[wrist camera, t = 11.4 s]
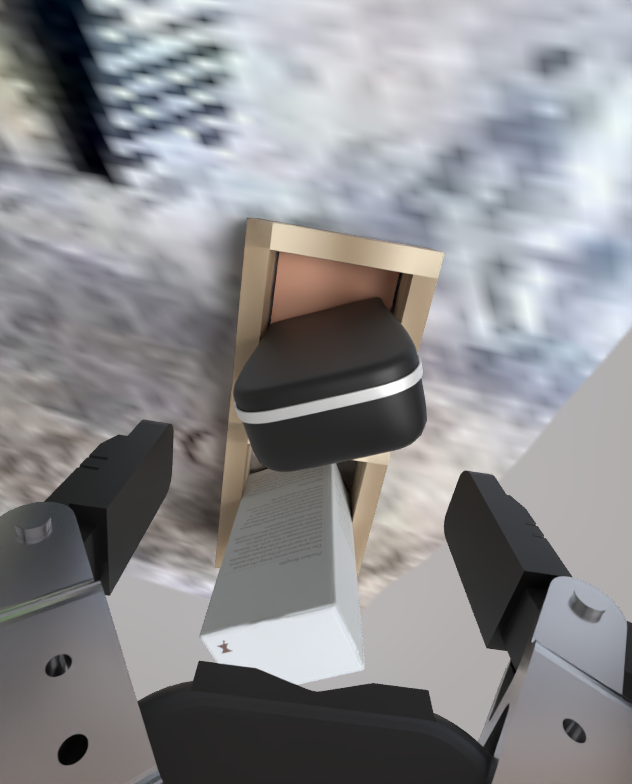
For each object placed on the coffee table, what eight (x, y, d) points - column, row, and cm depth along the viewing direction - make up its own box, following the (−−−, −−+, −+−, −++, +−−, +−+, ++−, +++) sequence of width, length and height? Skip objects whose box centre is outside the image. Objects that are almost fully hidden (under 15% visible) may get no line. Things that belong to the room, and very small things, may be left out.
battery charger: (283, 383, 25) (250, 499, 15) (264, 323, 24) (214, 404, 14) (396, 356, 25) (448, 459, 14) (384, 293, 23) (431, 354, 13)
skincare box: (271, 521, 30) (236, 701, 18) (247, 472, 28) (193, 636, 17) (353, 498, 29) (368, 674, 18) (333, 446, 27) (334, 603, 16)
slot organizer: (225, 535, 30) (214, 567, 28) (257, 218, 22) (247, 218, 19) (352, 554, 31) (354, 587, 28) (430, 248, 23) (444, 252, 20)
